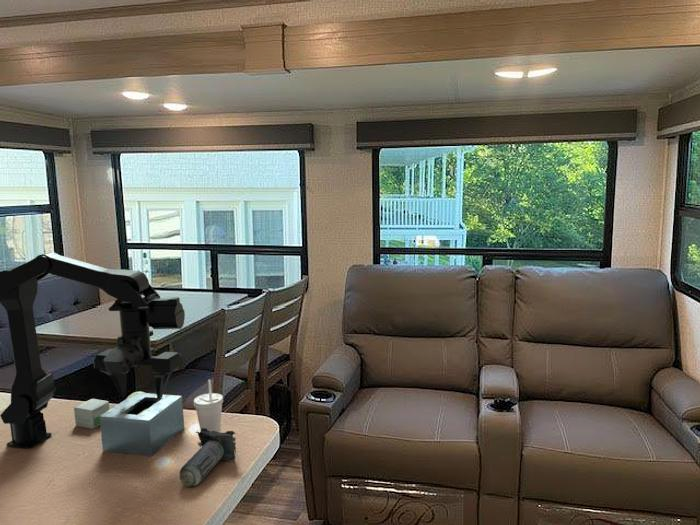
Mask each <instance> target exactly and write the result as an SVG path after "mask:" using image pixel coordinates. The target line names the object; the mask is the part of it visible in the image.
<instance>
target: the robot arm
mask: <svg viewBox="0 0 700 525" xmlns="http://www.w3.org/2000/svg"><path fill="white" fill-rule="evenodd" d="M48 275H53V276H56V277H60V278H63V279H66V280H71V281H74V282H77V283H81V284H84V285H88V286H91V287H95V288H97V289H99V290H102V291H103V292H104V293H105V294H106V295H108V296H110V297H112V298H114V299H115V301H114V303H113V304H111V306H110V307H108V311H109V312H119V321H120V322H119V323H120V333H121V335H120V336H119V335H118V336H117V339H116V343H117V344H116V347H115V348H108V349H106V350H104V351H102V352H100V353H97V354H95V356H94V358H93V369H99V371H100V372H101V373H105V374H106V375H108V376H109V377H110V379H111V380H112V382H113V384H114V386H115V387H116V389H117V392H118V394H119V395H120V397H124V396H126V393H127V392H126V391H127V373H128V372H129V371H130V370H131V368H133V367H134V368H137V367H138V365H141V366H151V369H152V370H153V372H151V375H152V376H153V378H154V379H155V390H156V391H155V392H156V393H155V394H157V398H158V399H161V398H162V396H163V395H164V392H165V390H166V387H167V384H168V382H169V379H170V377H171V376H172V373H173V371H174V370H176V369H178V367H180V366H183V364H184V363H183V356H182V355H181V353H180V352H178V351H177V352H175V351H164V352H163V353H160V354H159V355H157V356H155V355H154V356H153V354H155V352H156V351H155V350H156V348H154V347H153V348H152V347H151V346H152V345H151V337H152V336H154V331H153V330H181V329H182V328H183V326H184V324H185V318H186V315H185V313H186V312H185V309H184V307H183V304H182V303H181V302H180V297H176V296H175V297H173V296H172V297H169V298H161V296H160V294H159V293H158V292H157V290H155V289H154V287H153V286H152V285H151V284H150V280H149V278H148V277H147V275H146V273H144V272H142V271H140V270H131V269H117V268H116V269H113V268H111V269H110V268H106V267H102V266H99V265H97V264H92V263H89V262H84V261H82V260H77V259H75V258H71V257H67V256H64V255H60V254H58V253H56V252H53V251H51V252H47V253H42V254H38V255H37V256H35V257H34V258H33V259H31V260H29V261H27V262H25V263H22V264H21V265H18V266H16V267H13V268H8V269H4V270H1V271H0V305H1V306H2V307H3V308H4V309H5V311H6V315H7V320H8V321H7V322H8V329H9V335H10V341H11V347H12V355H13V356H12V357H13V361H14V368H15V376H14V378H13V379H14V380H13V382H12V385H11V388H10V404H9V405H8V406H7V407H6V408H5V409H4V410H3V412H2V413H0V419H1V420H2V422H3V424H9V426H10V434H11V440H10V441H9V442H7V443H6V447H11V448H19V449H21V448H22V449H31V448H33V447H35V446H37V445H38V444H40V443H41V442H43V441H44V440H45V441H46V439H48V438H50V437H52V432H47V425H46V420H45V417H44V412H41V411H43V410H44V409H47V407H48V404H49V402H50V400H52V398H53V397H54V392H55V391H56V390H57V388H56V386H55V383H54V379H55V378H54V374H53V373H48V374H47V372H45V371H44V369H43V367H42V363H41V355H40V349H39V343H38V336H37V329H36V328H37V327H36V322H35V320H36V319H35V315H34V308H33V306H34V303H35V301H36V297H37V294H38V288H39V287H38V283H39V282H38V281H41V280H43V279H44V278H45V277H47V276H48ZM142 296H143V297H142ZM150 328H152V329H153V330H150Z"/></svg>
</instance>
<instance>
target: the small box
mask: <svg viewBox="0 0 700 525" xmlns="http://www.w3.org/2000/svg"><path fill="white" fill-rule="evenodd" d="M108 410H110V401H108V400H102V399H97V398H90V399H89V400H86V401H85V402H82V403H80V404H78V405H77V406H74V407H73V412H74V419H75V421H74V422H75V426H76V427H81V428H85V429H92V430H93V429H95V428H97V427H99V426H100V418H99V416H100V415H102V414H104V413H105V412H107V411H108Z"/></svg>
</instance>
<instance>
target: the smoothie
mask: <svg viewBox="0 0 700 525" xmlns="http://www.w3.org/2000/svg"><path fill="white" fill-rule="evenodd" d="M207 386H208V393H204V394H200V395H198V396H195V398H194V399H193V406H194V408H195V410H196V416H197V421H198V425H199V430H200V429H202V428H206V429H207V430H208V431H210V432H212V431H217V432H220V433H221V426H222V425H221V421H222V411H223V410H222V409H223V408H222V407H223V403H224V397H223V394H220V393H214V392H212V381H211V379H208V380H207Z"/></svg>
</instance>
